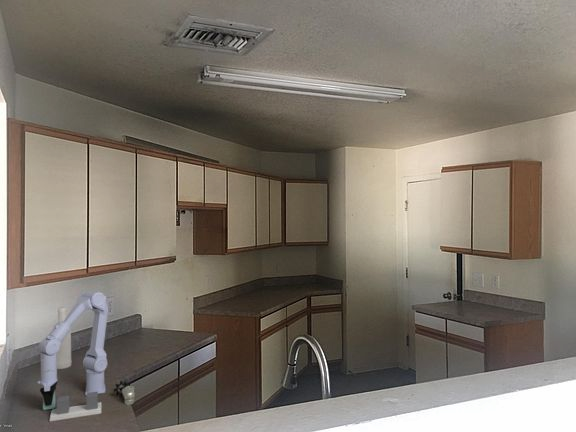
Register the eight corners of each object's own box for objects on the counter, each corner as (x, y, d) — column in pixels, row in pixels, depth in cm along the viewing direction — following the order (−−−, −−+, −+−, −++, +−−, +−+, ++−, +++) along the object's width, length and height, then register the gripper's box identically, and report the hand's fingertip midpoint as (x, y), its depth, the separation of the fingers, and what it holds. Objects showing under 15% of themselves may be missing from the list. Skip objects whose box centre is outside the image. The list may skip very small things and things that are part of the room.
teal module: (44, 405, 185) (44, 389, 185) (55, 403, 186) (55, 388, 186) (43, 410, 181) (42, 393, 181) (54, 408, 182) (54, 392, 182)
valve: (139, 402, 188) (128, 393, 198) (139, 386, 188) (128, 378, 198) (123, 407, 184) (113, 397, 194) (123, 390, 184) (113, 382, 193)
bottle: (74, 363, 236) (73, 306, 236) (67, 369, 228) (66, 309, 228) (58, 364, 236) (57, 306, 235) (51, 369, 228) (50, 309, 228)
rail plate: (52, 411, 180) (52, 395, 180) (101, 404, 187) (101, 388, 187) (49, 421, 172) (49, 404, 172) (101, 413, 178) (101, 397, 178)
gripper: (39, 364, 189) (40, 397, 189) (35, 376, 175) (35, 411, 175) (58, 362, 191) (59, 394, 191) (55, 373, 178) (56, 408, 178)
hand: (49, 402), depth 184 cm, fingers closed on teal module, 4 cm apart
